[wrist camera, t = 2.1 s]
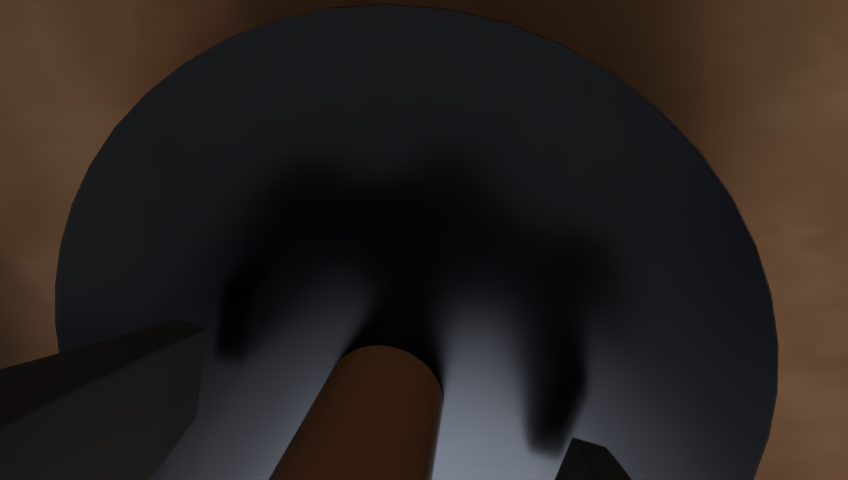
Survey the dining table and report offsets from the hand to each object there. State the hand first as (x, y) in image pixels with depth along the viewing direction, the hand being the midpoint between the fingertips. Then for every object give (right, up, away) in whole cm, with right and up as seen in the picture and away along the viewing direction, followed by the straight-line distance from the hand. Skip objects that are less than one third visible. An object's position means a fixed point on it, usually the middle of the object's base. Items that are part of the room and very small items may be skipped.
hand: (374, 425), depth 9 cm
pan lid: (0, 0, +1) cm, 1 cm away
